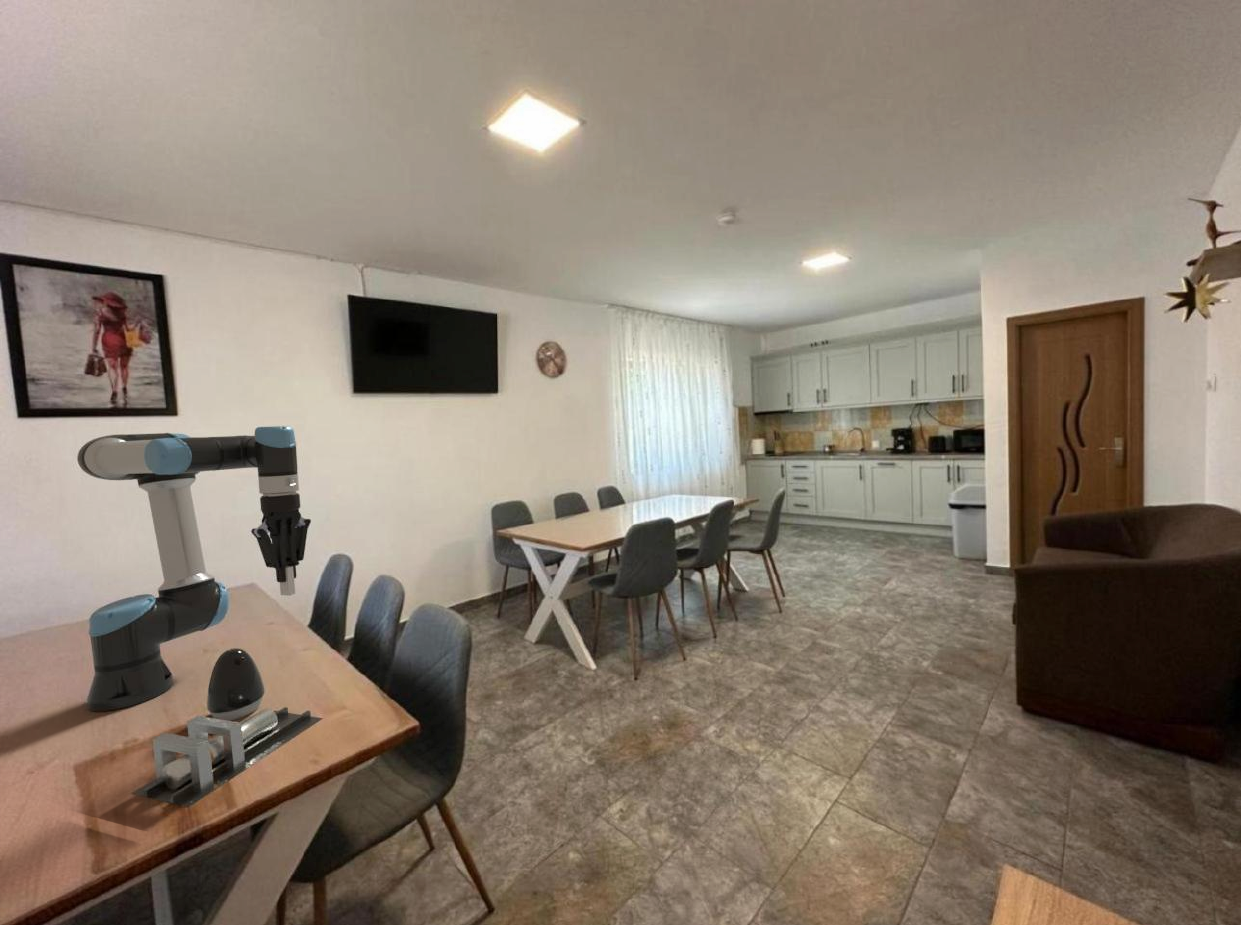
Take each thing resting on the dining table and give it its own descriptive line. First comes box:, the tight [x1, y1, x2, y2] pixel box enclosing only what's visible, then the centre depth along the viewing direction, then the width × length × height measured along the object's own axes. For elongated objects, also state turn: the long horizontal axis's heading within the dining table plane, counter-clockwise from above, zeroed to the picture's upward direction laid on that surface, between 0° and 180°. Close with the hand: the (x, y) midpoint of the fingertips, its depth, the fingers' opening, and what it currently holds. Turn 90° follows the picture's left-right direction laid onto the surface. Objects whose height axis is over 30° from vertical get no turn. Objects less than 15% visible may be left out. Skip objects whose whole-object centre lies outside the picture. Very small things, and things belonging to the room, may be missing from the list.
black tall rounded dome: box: [206, 647, 266, 721], centre depth 111 cm, size 10×10×15 cm
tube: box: [162, 707, 278, 789], centre depth 96 cm, size 18×4×4 cm, turn 163°
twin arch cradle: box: [130, 706, 324, 808], centre depth 97 cm, size 14×26×9 cm, turn 163°
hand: (288, 594), depth 117 cm, fingers closed
